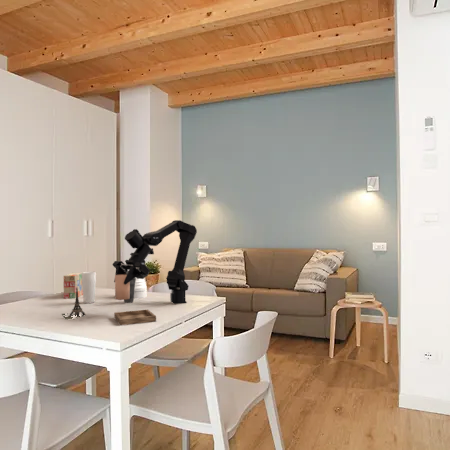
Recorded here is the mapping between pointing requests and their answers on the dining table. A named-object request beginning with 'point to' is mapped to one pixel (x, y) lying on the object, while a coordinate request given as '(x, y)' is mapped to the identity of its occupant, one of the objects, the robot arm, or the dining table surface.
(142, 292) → the honey pot
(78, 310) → the eiffel tower figurine
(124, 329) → the dining table surface
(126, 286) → the pinkish-brown upright cylinder
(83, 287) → the white tall cylinder
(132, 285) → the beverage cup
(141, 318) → the tray
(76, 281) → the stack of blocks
